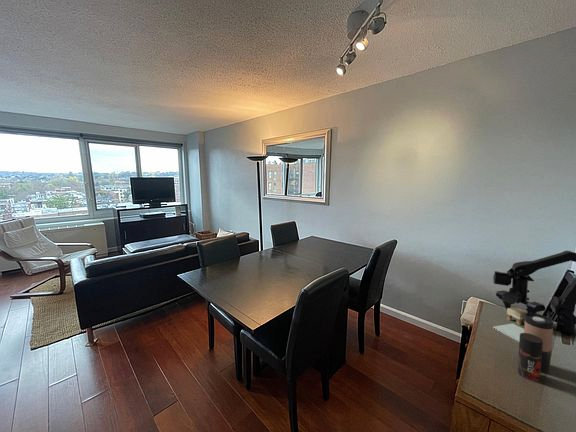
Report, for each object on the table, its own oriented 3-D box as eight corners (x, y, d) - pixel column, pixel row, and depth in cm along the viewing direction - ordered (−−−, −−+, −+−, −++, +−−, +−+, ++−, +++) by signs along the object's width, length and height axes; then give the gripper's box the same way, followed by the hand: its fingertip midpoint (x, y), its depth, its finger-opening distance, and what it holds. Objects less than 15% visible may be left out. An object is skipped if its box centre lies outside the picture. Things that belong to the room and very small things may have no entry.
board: (512, 324, 120) (512, 323, 120) (541, 339, 108) (541, 337, 108) (493, 328, 118) (493, 326, 118) (520, 342, 106) (520, 341, 106)
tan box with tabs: (515, 317, 126) (516, 307, 126) (528, 323, 120) (529, 312, 120) (506, 319, 125) (507, 308, 125) (519, 325, 119) (520, 314, 119)
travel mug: (536, 359, 96) (540, 312, 94) (556, 373, 88) (560, 323, 86) (516, 358, 97) (519, 312, 95) (534, 372, 89) (537, 323, 87)
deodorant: (533, 370, 90) (535, 334, 88) (544, 382, 84) (547, 344, 83) (513, 367, 92) (516, 331, 90) (523, 379, 86) (525, 341, 85)
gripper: (488, 282, 129) (487, 309, 130) (528, 296, 110) (526, 328, 112) (504, 280, 131) (503, 306, 132) (547, 294, 112) (544, 324, 114)
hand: (517, 315), depth 123 cm, fingers open, 9 cm apart
